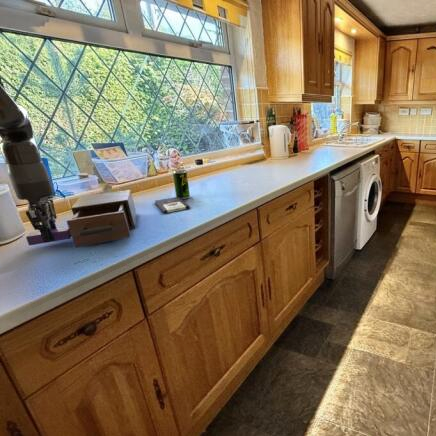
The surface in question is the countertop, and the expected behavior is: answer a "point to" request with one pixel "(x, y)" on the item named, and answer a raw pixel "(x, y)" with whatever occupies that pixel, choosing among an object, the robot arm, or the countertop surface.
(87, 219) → the drawer
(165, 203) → the chocolate bar
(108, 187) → the chocolate bunny
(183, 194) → the beer can
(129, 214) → the cabinet
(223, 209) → the countertop surface
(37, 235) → the purple rectangular block
